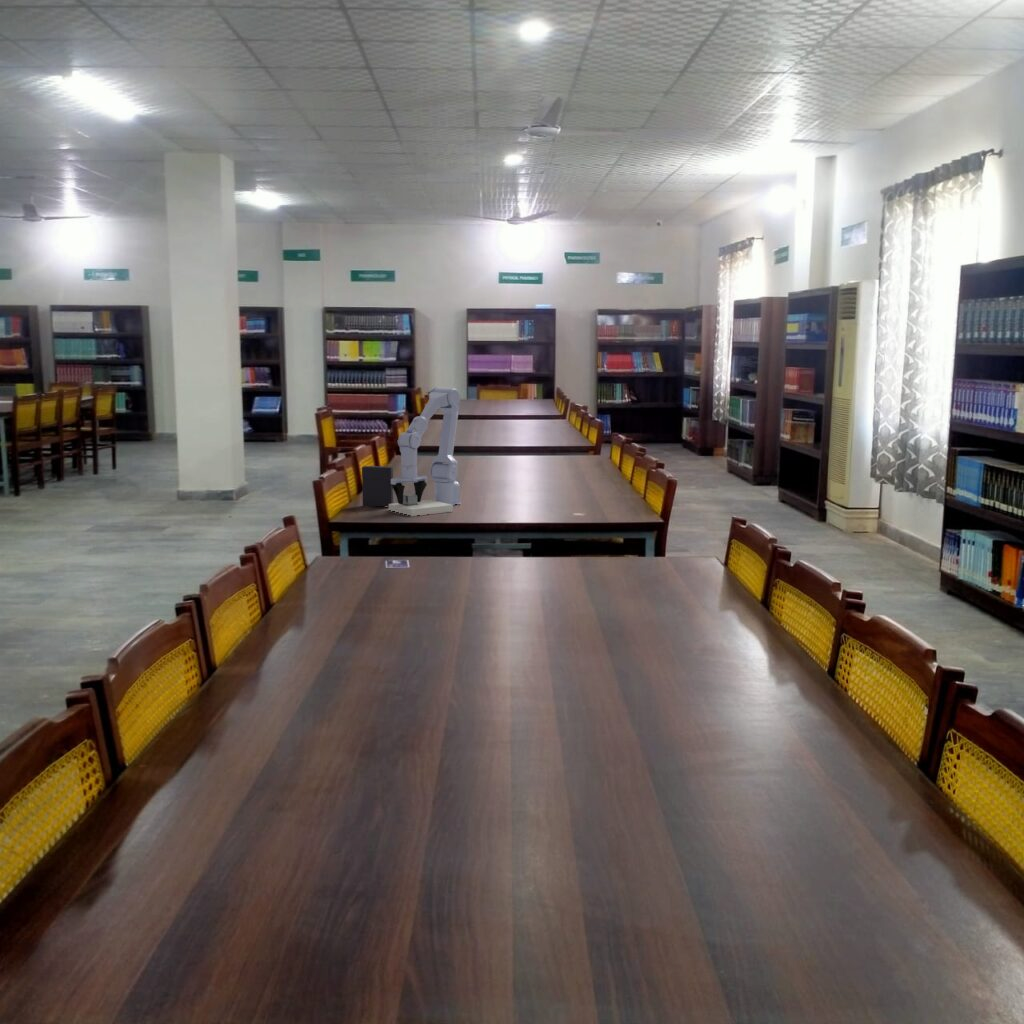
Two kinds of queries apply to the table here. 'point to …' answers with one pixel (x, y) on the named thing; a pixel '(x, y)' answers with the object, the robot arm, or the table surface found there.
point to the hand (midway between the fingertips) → (409, 502)
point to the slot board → (422, 508)
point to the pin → (409, 499)
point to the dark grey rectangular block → (377, 485)
